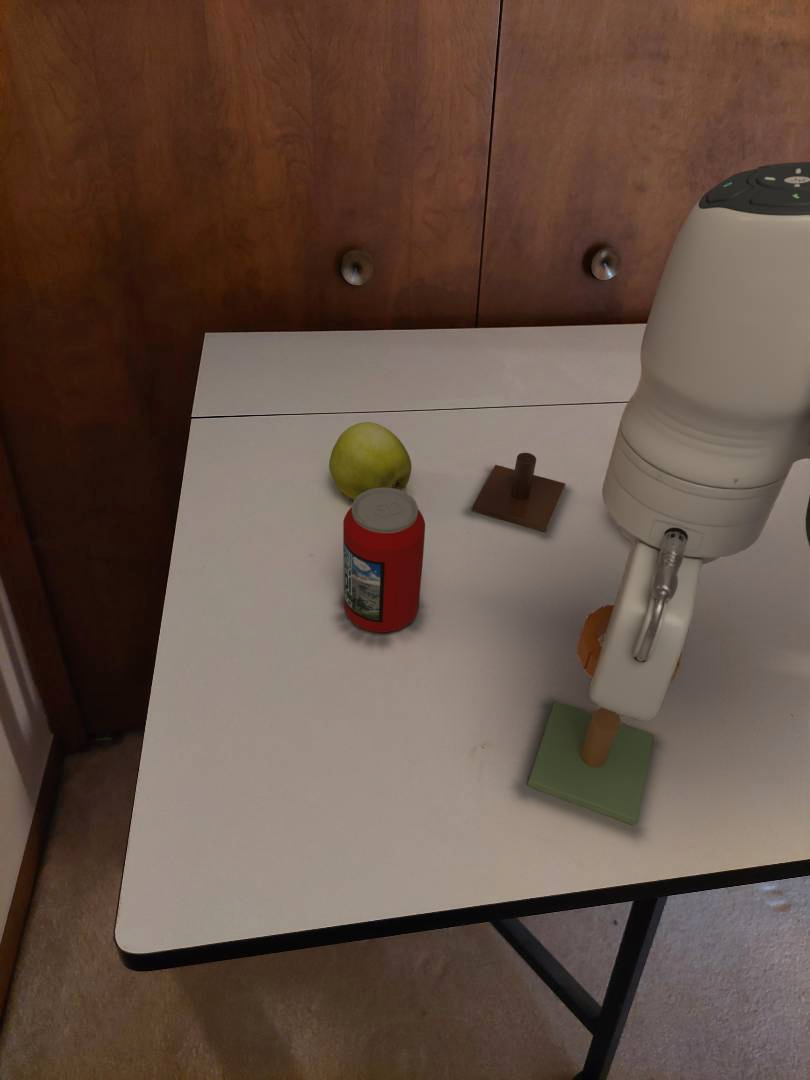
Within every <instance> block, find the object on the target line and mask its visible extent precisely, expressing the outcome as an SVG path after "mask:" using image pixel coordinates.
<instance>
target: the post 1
mask: <svg viewBox="0 0 810 1080" xmlns="http://www.w3.org/2000/svg"><path fill="white" fill-rule="evenodd" d="M536 464H537V457H536V455H534V454H532V453H531V452H521V453H519V454H517V456H516V460H515V466H514V468H510V467H506V466H503V465H498V464H494V466H493V468H492V470H491V472H490V473H489V475H488V477H487V479H486V481H485V483H484V485H483V486H482V488H481V490H480V492H479V494H478V495H477V497H476V499H475V501H474V502H473V504H472V508H471V511H472V513H473V512H474V513H477V514H481V515H483V516H487V517H491V518H494V519H498V520H502V521H505V522H508V523H512V524H516V525H519V526H523V527H525V528H530V529H532V530H537V531H540V532H543V533H547V531H548V529H549V527H550V525H551V522H552V520H553V517H554V514H555V513H556V510H557V508H558V505H559V503H560V500H561V499H562V496H563V494H564V491H565V488H566V483H565V482H562V481H559V480H555V479H552V478H551V479H550V478H547V477H544V476H539V475H536V474H535V469H536Z"/></svg>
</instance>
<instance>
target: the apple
mask: <svg viewBox="0 0 810 1080" xmlns="http://www.w3.org/2000/svg"><path fill="white" fill-rule="evenodd" d="M328 463H329V464H328V468H329V473H330V476H331V479H332V481H333V483H334V484H335V486H336V488H337V489H338V490H339V491H340V493H342V494H343V495H344V496H346V497H348V498H350V499H351V500H353V501H354V500H355V498H356V497H357V496H358V495H360V494H361V493H363V492H365V491H367V490H370V489H374V488H382V487H383V488H394V489H398V490H401V491H403V489H404V488H405V487H407V485H408V483H409V481H410V478H411V474H412V467H413V466H412V460H411V458H410V455H409V453H408V451H407V449H406V447H405V445H404V444H403V442H402V441H401V440H400V439H399V438H398V437H397V436H396V434H394V433H393V432H392V431H391V430H389V429H388V428H387V427H385V426H383V425H381V424H378V423H377V422H371V421H362V422H359V423H355V424H353V425H351V426H349V427H348V428H346V429H345V430H344V431H343V432H342V433H341V434H340V435H339V437H338V438H337V440H336V442H335V444H334V445H333V447H332V450H331V453H330V457H329V462H328Z"/></svg>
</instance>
